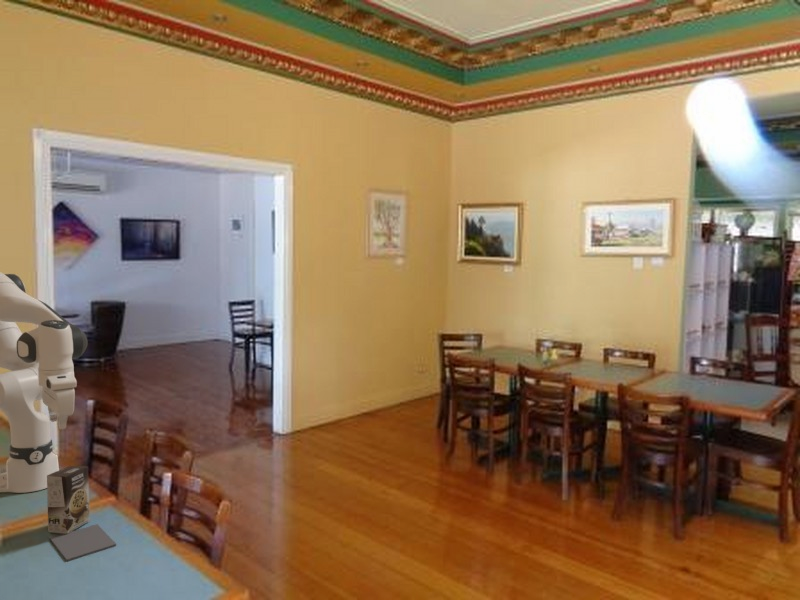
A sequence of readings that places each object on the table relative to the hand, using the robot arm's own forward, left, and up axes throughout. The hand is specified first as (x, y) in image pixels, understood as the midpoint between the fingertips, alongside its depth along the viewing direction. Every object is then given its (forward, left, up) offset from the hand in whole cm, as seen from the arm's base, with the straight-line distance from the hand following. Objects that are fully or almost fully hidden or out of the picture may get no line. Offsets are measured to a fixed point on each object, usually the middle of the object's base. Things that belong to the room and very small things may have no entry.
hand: (57, 424), depth 172 cm
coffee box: (+8, 0, -28) cm, 29 cm away
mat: (+19, 0, -28) cm, 34 cm away
